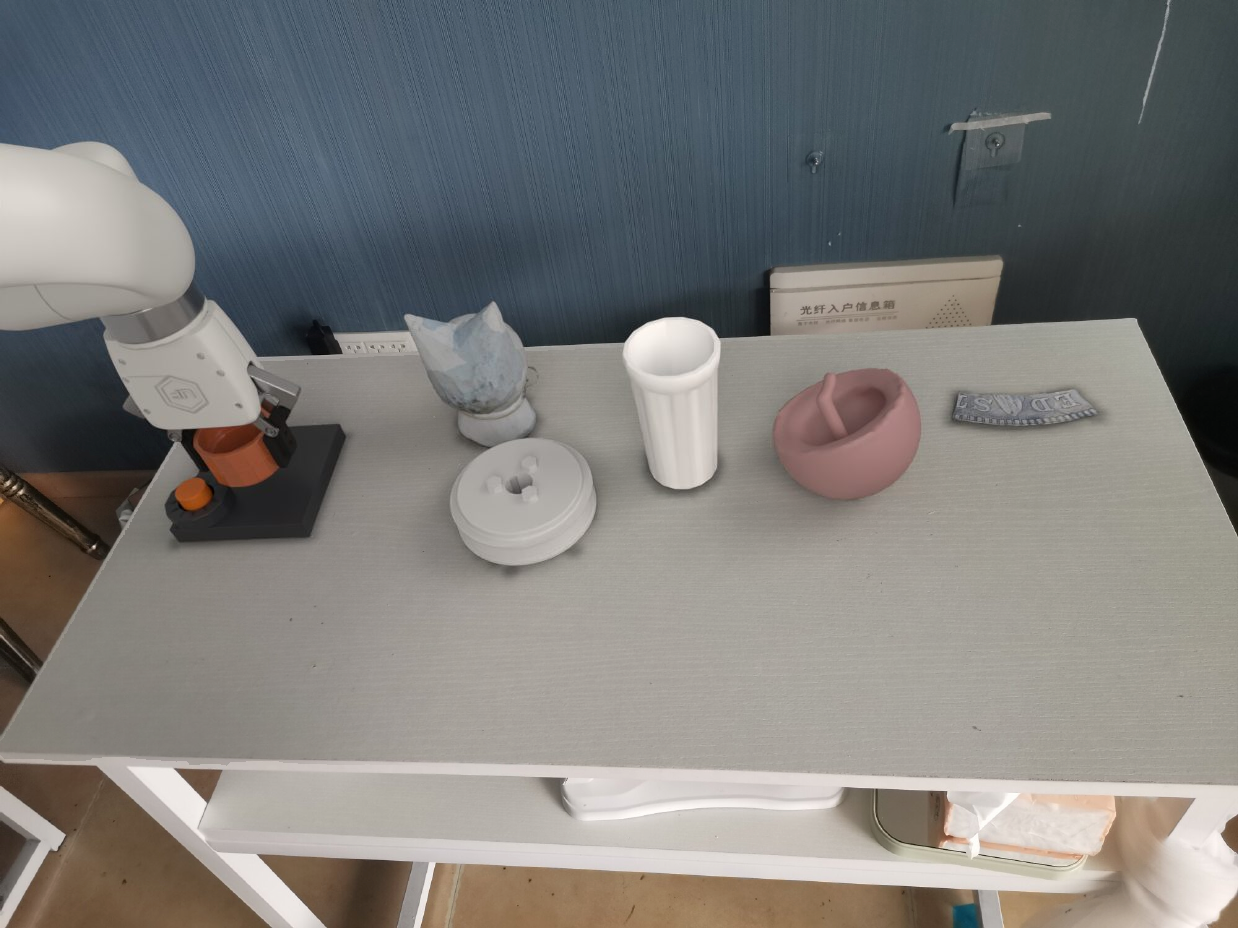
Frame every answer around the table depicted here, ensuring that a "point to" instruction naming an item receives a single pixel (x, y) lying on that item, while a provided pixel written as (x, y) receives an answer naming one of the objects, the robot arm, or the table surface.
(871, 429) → the mortar and pestle
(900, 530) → the table surface
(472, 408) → the figurine
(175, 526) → the scale
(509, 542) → the gray bolted wheel hub
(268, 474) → the flower pot
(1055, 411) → the coin fragment
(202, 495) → the button
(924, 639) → the table surface
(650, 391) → the cup
